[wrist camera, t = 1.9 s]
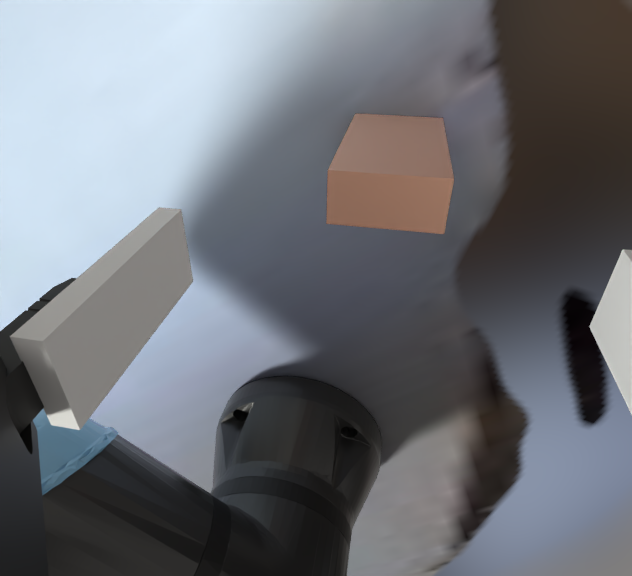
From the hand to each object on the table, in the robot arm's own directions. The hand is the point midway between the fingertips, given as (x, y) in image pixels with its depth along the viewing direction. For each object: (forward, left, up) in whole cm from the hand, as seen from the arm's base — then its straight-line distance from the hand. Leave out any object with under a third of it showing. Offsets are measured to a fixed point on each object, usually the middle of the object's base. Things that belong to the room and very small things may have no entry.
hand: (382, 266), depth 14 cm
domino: (0, 0, -15) cm, 16 cm away
